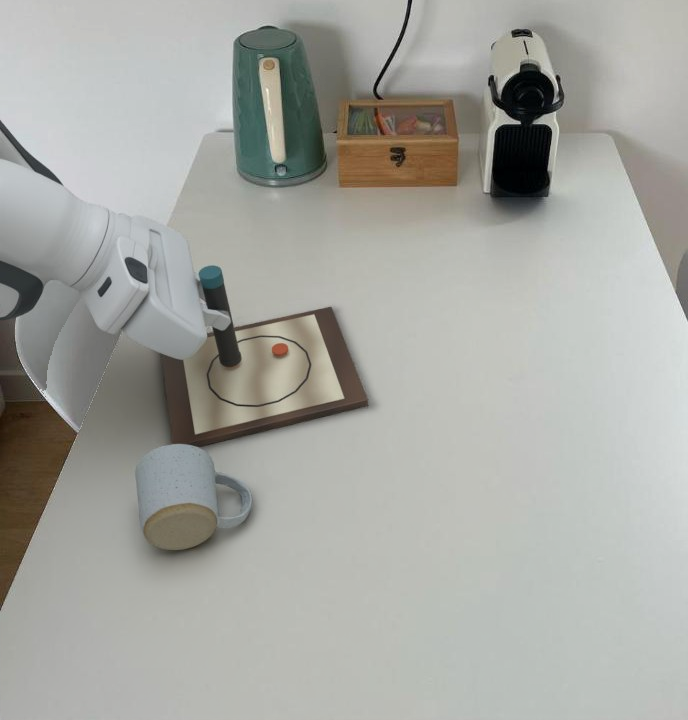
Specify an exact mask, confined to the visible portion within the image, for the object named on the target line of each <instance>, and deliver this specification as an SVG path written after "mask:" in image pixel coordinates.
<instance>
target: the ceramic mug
mask: <svg viewBox="0 0 688 720" xmlns="http://www.w3.org/2000/svg"><path fill="white" fill-rule="evenodd" d="M134 471H135V482H136V483H135V484H136V493H137V495H136V496H137V503H138V515H139V516H138V517H139V523H140V527H141V529H142V530H141V531H142V534H143V536H144V538H145V539H146V541H147V542H148V543H149V544H151V545H152V546H154V547H156V548H159V549H161V550H168V551H180V550H186V549H187V550H188V549H190V548H193V547H194V548H195V547H196V546H198V545H200V544H202V543H204V542H205V541H207V540H208V539H209V538H210V537H211V536H212V535H213V534H214V533H215V531H216V528H220V529H227V528H228V529H229V528H232V527H236V526H239V525H241V524H242V523H244V521H246V519H247V518H248V516H249V513H250V510H251V508H252V507H253V506H252V505H253V496H252V493H251V490H250V487H249V486H248V485H247V484H246V483H245V482H243V480H241V479H239V478H237V477H235V476H233V475H230V474H228V473H224V472H219V471H216V470H215V462H214V461H213V458H212V456H211V455H210V453H208V452H207V451H206V450H204V449H203V448H201V447H196V446H192V445H186V444H173V443H172V444H166V445H162V446H159V447H155V448H154V449H152V450H150V451H149V452H147V453H145V454H144V455H143V456H142V457H141V458H140V460H139V461H138V462H137V465H136V467H135V470H134ZM216 484H218V485H221V486H226V487H228V488H230V489H232V490H234V491H235V492H238V493H239V495H240V497H241V504H242V507H241V509H240V514H236V515H232V516H219V507H218V497H217V485H216Z"/></svg>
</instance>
